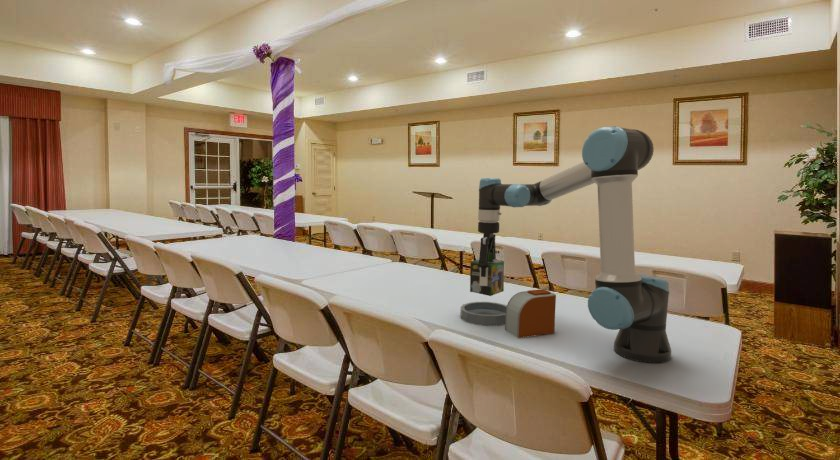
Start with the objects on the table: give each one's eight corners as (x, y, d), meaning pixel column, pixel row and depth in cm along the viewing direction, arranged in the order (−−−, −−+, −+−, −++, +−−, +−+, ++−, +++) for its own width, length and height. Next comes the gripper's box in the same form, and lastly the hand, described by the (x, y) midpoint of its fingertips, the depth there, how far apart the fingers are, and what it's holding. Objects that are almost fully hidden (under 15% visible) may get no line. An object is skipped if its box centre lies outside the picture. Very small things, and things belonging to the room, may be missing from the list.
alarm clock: (541, 325, 161) (543, 287, 160) (556, 333, 153) (558, 293, 152) (504, 329, 156) (505, 290, 154) (518, 338, 148) (520, 296, 146)
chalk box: (504, 292, 169) (505, 251, 167) (490, 296, 162) (492, 254, 160) (482, 287, 175) (483, 248, 173) (468, 292, 168) (470, 251, 166)
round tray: (506, 328, 157) (507, 318, 157) (454, 321, 164) (455, 312, 163) (515, 313, 175) (515, 304, 174) (467, 308, 181) (468, 299, 181)
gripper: (492, 225, 153) (490, 290, 156) (505, 219, 175) (503, 276, 177) (470, 223, 156) (468, 288, 158) (485, 218, 177) (483, 275, 180)
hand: (486, 282), depth 168 cm, fingers closed on chalk box, 10 cm apart
